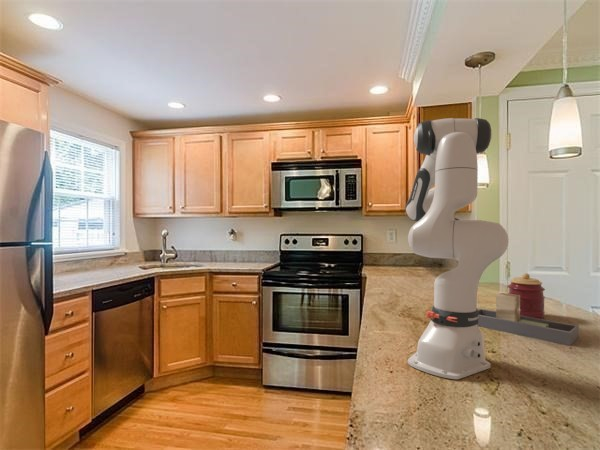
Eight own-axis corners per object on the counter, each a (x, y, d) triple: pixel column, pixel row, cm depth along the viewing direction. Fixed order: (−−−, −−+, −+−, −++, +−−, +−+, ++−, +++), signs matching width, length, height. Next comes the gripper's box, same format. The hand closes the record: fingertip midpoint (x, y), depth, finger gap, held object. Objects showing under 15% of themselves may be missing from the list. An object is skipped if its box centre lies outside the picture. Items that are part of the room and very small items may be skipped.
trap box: (570, 345, 110) (570, 332, 110) (467, 323, 133) (467, 313, 133) (578, 337, 118) (578, 325, 118) (479, 318, 141) (480, 308, 141)
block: (514, 323, 124) (514, 297, 124) (495, 319, 128) (496, 294, 128) (519, 319, 128) (520, 295, 128) (501, 316, 132) (502, 292, 132)
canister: (533, 312, 151) (533, 271, 151) (552, 320, 138) (552, 275, 138) (501, 311, 152) (502, 270, 152) (517, 319, 139) (517, 275, 139)
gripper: (436, 220, 137) (461, 247, 130) (461, 219, 150) (484, 243, 143) (426, 231, 141) (449, 258, 134) (451, 229, 154) (473, 253, 147)
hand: (467, 250), depth 139 cm, fingers open, 8 cm apart
